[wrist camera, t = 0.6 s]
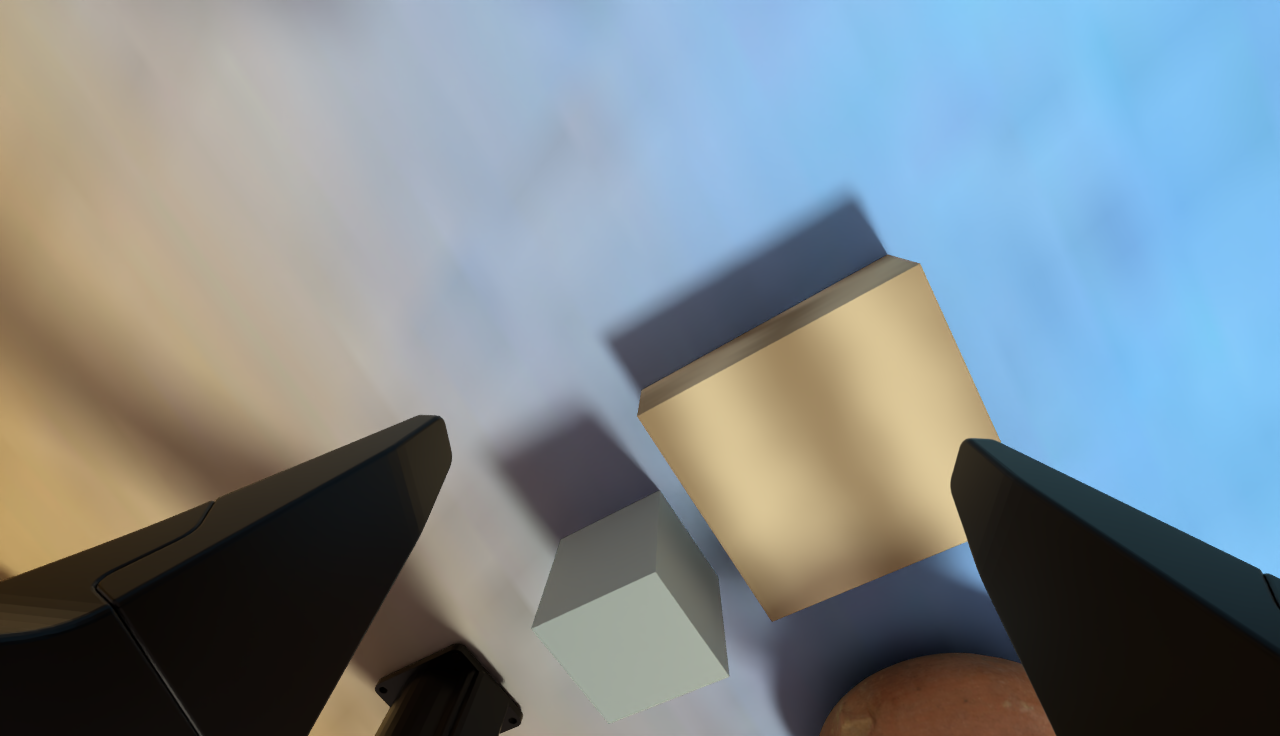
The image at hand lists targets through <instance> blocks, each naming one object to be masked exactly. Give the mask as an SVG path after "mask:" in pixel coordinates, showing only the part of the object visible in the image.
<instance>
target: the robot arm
mask: <svg viewBox="0 0 1280 736" xmlns="http://www.w3.org/2000/svg"><path fill="white" fill-rule="evenodd" d="M451 462H452V451H451V447H450V443H449V438H448V434H447V429H446V425H445V422H444V420H443V418H441V417H440V416H436V415H418V416H415V417H413V418H410V419H408V420H406V421H403V422H401V423H398V424H396V425H394V426H391V427H389V428H386V429H384V430H381V431H379V432H377V433H374V434H372V435H369V436H367V437H365V438H362V439H360V440H357V441H355V442H352V443H350V444H348V445H345V446H343V447H340V448H338V449H335V450H333V451H331V452H328V453H326V454H323V455H321V456H319V457H316V458H314V459H311V460H309V461H306V462H304V463H302V464H299V465H297V466H294V467H292V468H290V469H287V470H285V471H282V472H280V473H277V474H275V475H273V476H270V477H268V478H265V479H263V480H261V481H258V482H256V483H253V484H251V485H248V486H246V487H244V488H241V489H239V490H236V491H234V492H231V493H229V494H227V495H224V496H222V497H219V498H217V499H216V501H215V502H214V501H209V502H207V503H205V504H202V505H200V506H197V507H195V508H193V509H190V510H188V511H185V512H183V513H180V514H178V515H175V516H173V517H170V518H168V519H165V520H163V521H160V522H158V523H155V524H153V525H150V526H148V527H145V528H143V529H140V530H138V531H135V532H132V533H130V534H127V535H124V536H122V537H119V538H117V539H114V540H111V541H109V542H106V543H103V544H101V545H98V546H95V547H93V548H90V549H87V550H85V551H82V552H79V553H77V554H74V555H71V556H68V557H66V558H63V559H60V560H58V561H55V562H52V563H49V564H47V565H44V566H41V567H39V568H36V569H33V570H31V571H28V572H25V573H22V574H20V575H17V576H14V577H12V578H9V579H6V580H3V581H1V582H0V736H308V735H309V733H310V731H311V729H312V727H313V726H314V724H315V722H316V720H317V719H318V717H319V715H320V713H321V711H322V710H323V708H324V706H325V704H326V703H327V701H328V699H329V697H330V695H331V694H332V692H333V690H334V688H335V687H336V685H337V683H338V681H339V680H340V678H341V676H342V674H343V672H344V671H345V669H346V667H347V665H348V664H349V662H350V660H351V658H352V656H353V655H354V653H355V651H356V649H357V648H358V646H359V644H360V642H361V640H362V639H363V637H364V635H365V633H366V632H367V630H368V628H369V626H370V624H371V623H372V621H373V619H374V617H375V616H376V614H377V612H378V610H379V608H380V607H381V605H382V603H383V601H384V600H385V598H386V596H387V594H388V592H389V591H390V589H391V587H392V585H393V584H394V582H395V580H396V578H397V576H398V575H399V573H400V571H401V569H402V568H403V566H404V564H405V562H406V560H407V559H408V557H409V555H410V553H411V552H412V550H413V548H414V546H415V544H416V542H417V541H418V539H419V537H420V535H421V533H422V531H423V528H424V526H425V524H426V522H427V520H428V517H429V515H430V513H431V510H432V508H433V506H434V503H435V501H436V499H437V496H438V494H439V492H440V489H441V487H442V485H443V482H444V480H445V478H446V475H447V473H448V471H449V468H450V466H451ZM950 489H951V494H952V497H953V500H954V503H955V506H956V509H957V512H958V515H959V517H960V520H961V523H962V526H963V529H964V532H965V535H966V538H967V541H968V544H969V547H970V549H971V552H972V555H973V558H974V561H975V564H976V567H977V569H978V572H979V574H980V577H981V579H982V581H983V584H984V586H985V588H986V590H987V592H988V594H989V597H990V599H991V601H992V603H993V605H994V607H995V609H996V611H997V613H998V615H999V617H1000V620H1001V622H1002V624H1003V626H1004V628H1005V630H1006V632H1007V634H1008V636H1009V638H1010V640H1011V643H1012V645H1013V647H1014V649H1015V651H1016V653H1017V655H1018V657H1019V659H1020V661H1021V663H1022V666H1023V668H1024V670H1025V672H1026V674H1027V676H1028V678H1029V680H1030V682H1031V684H1032V686H1033V689H1034V691H1035V693H1036V695H1037V697H1038V699H1039V701H1040V703H1041V705H1042V707H1043V709H1044V712H1045V714H1046V716H1047V718H1048V720H1049V722H1050V724H1051V726H1052V728H1053V730H1054V732H1055V735H1056V736H1280V579H1279V578H1277V577H1275V576H1273V575H1271V574H1268V573H1266V574H1263V573H1262V571H1261V570H1260V569H1258V568H1256V567H1254V566H1252V565H1250V564H1248V563H1246V562H1244V561H1242V560H1240V559H1238V558H1236V557H1234V556H1232V555H1230V554H1228V553H1226V552H1224V551H1222V550H1220V549H1217V548H1215V547H1213V546H1211V545H1209V544H1207V543H1205V542H1203V541H1201V540H1199V539H1197V538H1195V537H1193V536H1191V535H1189V534H1187V533H1185V532H1183V531H1181V530H1178V529H1176V528H1174V527H1172V526H1170V525H1168V524H1166V523H1164V522H1162V521H1160V520H1158V519H1156V518H1154V517H1152V516H1150V515H1148V514H1146V513H1144V512H1142V511H1139V510H1137V509H1135V508H1133V507H1131V506H1129V505H1127V504H1125V503H1123V502H1121V501H1119V500H1117V499H1115V498H1113V497H1111V496H1109V495H1107V494H1105V493H1103V492H1100V491H1098V490H1096V489H1094V488H1092V487H1090V486H1088V485H1086V484H1084V483H1082V482H1080V481H1078V480H1076V479H1074V478H1072V477H1070V476H1068V475H1066V474H1064V473H1061V472H1059V471H1057V470H1055V469H1053V468H1051V467H1049V466H1047V465H1045V464H1043V463H1041V462H1039V461H1037V460H1035V459H1033V458H1031V457H1029V456H1027V455H1025V454H1022V453H1020V452H1018V451H1016V450H1014V449H1012V448H1010V447H1008V446H1006V445H1004V444H1002V443H1000V442H998V441H996V440H993V439H981V438H967V439H965V440H964V441H963V442H962V443H961V445H960V447H959V451H958V454H957V458H956V462H955V465H954V469H953V472H952V476H951V481H950ZM457 653H458V654H457ZM375 691H376V693H377V694H378V695H379V696H380V697H381V698H382V699H383V700H384V701H385V702H386V703H387V704H388V705H389V706H390V709H389V711H388V713H387V714H386V716H385V718H384V720H383V722H382V723H381V725H380V727H379V729H378V731H377V733H376V734H375V736H499V734H500V733H503V732H505V731H508V730H510V729H512V728H515V727H517V726H519V725H520V724H521V721H522V718H523V713H522V712H521V710H520V709H519V708H518V707H517V706H516V705H515V704H514V702H513V701H512V700H511V699H510V698H509V697H508V695H507V694H506V693H505V692H504V691H503V690H502V689H501V687H500V686H499V685H498V684H497V683H496V682H495V681H494V679H493V678H492V677H491V676H490V675H489V674H488V673H487V671H486V670H485V669H484V668H483V667H482V666H481V664H480V663H479V662H478V661H477V660H476V659H475V658H474V656H473V655H472V654H471V653H470V652H469V651H468V650H467V648H466V647H465V646H463V645H461V644H454V645H452V646H449V647H447V648H445V649H443V650H441V651H439V652H437V653H435V654H432V655H430V656H428V657H426V658H424V659H422V660H420V661H418V662H415V663H413V664H411V665H409V666H407V667H405V668H403V669H401V670H398V671H396V672H394V673H392V674H390V675H388V676H386V677H384V678H381V679H380V680H379V682H378V683H377V685H376V687H375Z"/></svg>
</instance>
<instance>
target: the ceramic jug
mask: <svg viewBox="0 0 1280 736" xmlns="http://www.w3.org/2000/svg"><path fill="white" fill-rule="evenodd" d="M819 736H1056V735H1055V732H1054V730H1053V728H1052V726H1051V724H1050V722H1049V720H1048V718H1047V716H1046V714H1045V712H1044V709H1043V707H1042V705H1041V703H1040V701H1039V699H1038V697H1037V695H1036V693H1035V691H1034V689H1033V686H1032V684H1031V682H1030V680H1029V678H1028V676H1027V674H1026V672H1025V670H1024V668H1023V666H1022V664H1021V663H1018V662H1014V661H1011V660H1007V659H1003V658H998V657H992V656H986V655H979V654H972V653H941V654H933V655H926V656H921V657H916V658H912V659H909V660H906V661H902V662H900V663H897V664H894V665H892V666H889V667H887V668H884V669H882V670H880V671H878V672H876V673H874V674H873V675H871V676H869V677H867V678H866V679H864V680H863V681H861V682H860V683H859V684H857V685H856V686H855V687H854V688H852V689H851V690H850V691H849V692H848V693H847V694H846V695H845V696H843V697H842V698H841V699H840V701H839V702H838V703H837V704H836V705H835V706H834V708H833V709H832V711H831V712H830V714H829V715H828V717H827V719H826V720H825V723H824V725H823V727H822V729H821V732H820V735H819Z"/></svg>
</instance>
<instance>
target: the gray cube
mask: <svg viewBox="0 0 1280 736" xmlns="http://www.w3.org/2000/svg"><path fill="white" fill-rule="evenodd" d="M531 629H532V631H533V632H534V633H535V634H536V635H537V637H538V638H539V639H540V640H541V642H542V643H543V644H544V645H545V646H546V648H547V649H548V650H549V651H550V653H551V654H552V655H553V656H554V658H555V659H556V660H557V661H558V662H559V664H560V665H561V666H562V667H563V669H564V670H565V671H566V672H567V674H568V675H569V676H570V677H571V678H572V680H573V681H574V682H575V683H576V685H577V686H578V687H579V688H580V689H581V691H582V692H583V693H584V694H585V696H586V697H587V698H588V699H589V701H590V702H591V703H592V704H593V705H594V707H595V708H596V709H597V710H598V712H599V713H600V714H601V715H602V717H603V718H604V719H605V720H606V721H607V723H608V724H610V723H613V722H616V721H618V720H621V719H623V718H626V717H628V716H631V715H633V714H636V713H638V712H641V711H643V710H646V709H649V708H651V707H654V706H656V705H659V704H661V703H664V702H666V701H669V700H671V699H674V698H676V697H679V696H681V695H684V694H687V693H689V692H692V691H694V690H697V689H699V688H702V687H704V686H707V685H709V684H712V683H714V682H717V681H720V680H722V679H725V678H727V677H729V668H728V659H727V650H726V641H725V632H724V624H723V615H722V606H721V597H720V588H719V579H718V576H717V575H716V573H715V572H714V570H713V569H712V567H711V566H710V564H709V563H708V561H707V560H706V558H705V557H704V556H703V554H702V553H701V551H700V550H699V548H698V547H697V545H696V544H695V542H694V541H693V539H692V538H691V536H690V535H689V533H688V532H687V530H686V529H685V527H684V526H683V524H682V523H681V521H680V520H679V518H678V517H677V515H676V514H675V512H674V511H673V509H672V508H671V506H670V505H669V503H668V502H667V500H666V499H665V497H664V496H663V494H662V493H661V491H660V490H659V491H657V492H655V493H653V494H651V495H649V496H647V497H645V498H643V499H641V500H639V501H637V502H635V503H633V504H631V505H629V506H627V507H625V508H623V509H621V510H619V511H617V512H615V513H613V514H611V515H609V516H607V517H605V518H603V519H601V520H599V521H597V522H595V523H593V524H591V525H589V526H587V527H585V528H583V529H581V530H579V531H577V532H575V533H573V534H571V535H569V536H567V537H565V538H563V539H561V540H560V543H559V546H558V549H557V552H556V555H555V559H554V562H553V565H552V568H551V571H550V574H549V577H548V580H547V583H546V586H545V589H544V592H543V595H542V598H541V601H540V604H539V607H538V610H537V613H536V616H535V619H534V622H533V625H532V628H531Z"/></svg>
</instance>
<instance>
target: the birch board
mask: <svg viewBox="0 0 1280 736" xmlns="http://www.w3.org/2000/svg"><path fill="white" fill-rule="evenodd" d="M637 417H638V418H639V420H640V421H641V423H642V424H643V426H644V427H645V429H646V431H647V432H648V434H649V435H650V437H651V438H652V440H653V441H654V443H655V444H656V446H657V447H658V449H659V450H660V452H661V453H662V455H663V456H664V458H665V459H666V461H667V463H668V464H669V466H670V467H671V469H672V470H673V472H674V473H675V475H676V476H677V478H678V479H679V481H680V482H681V484H682V485H683V487H684V488H685V490H686V492H687V493H688V495H689V496H690V498H691V499H692V501H693V502H694V504H695V505H696V507H697V508H698V510H699V511H700V513H701V514H702V516H703V517H704V519H705V520H706V522H707V524H708V525H709V527H710V528H711V530H712V531H713V533H714V534H715V536H716V537H717V539H718V540H719V542H720V543H721V545H722V546H723V548H724V549H725V551H726V553H727V554H728V556H729V557H730V559H731V560H732V562H733V563H734V565H735V566H736V568H737V569H738V571H739V572H740V574H741V575H742V577H743V578H744V580H745V581H746V583H747V585H748V586H749V588H750V589H751V591H752V592H753V594H754V595H755V597H756V598H757V600H758V601H759V603H760V604H761V606H762V607H763V609H764V610H765V612H766V614H767V615H768V617H769V618H770V620H771V621H772V622H773V621H775V620H778V619H780V618H783V617H785V616H787V615H790V614H792V613H795V612H797V611H800V610H802V609H804V608H807V607H809V606H812V605H814V604H817V603H819V602H821V601H824V600H826V599H829V598H831V597H834V596H836V595H838V594H841V593H843V592H846V591H848V590H850V589H853V588H855V587H858V586H860V585H863V584H865V583H867V582H870V581H872V580H875V579H877V578H880V577H882V576H884V575H887V574H889V573H892V572H894V571H896V570H899V569H901V568H904V567H906V566H909V565H911V564H913V563H916V562H918V561H921V560H923V559H926V558H928V557H930V556H933V555H935V554H938V553H940V552H943V551H945V550H947V549H950V548H952V547H955V546H957V545H959V544H962V543H964V542H967V538H966V535H965V532H964V529H963V526H962V523H961V520H960V517H959V515H958V512H957V509H956V506H955V503H954V500H953V497H952V494H951V489H950V481H951V476H952V472H953V469H954V465H955V462H956V458H957V454H958V451H959V447H960V445H961V443H962V442H963V441H964V440H965V439H967V438H981V439H993V440H996V441H998V442H1000V443H1001V441H1000V439H999V437H998V435H997V432H996V430H995V428H994V426H993V424H992V421H991V419H990V417H989V415H988V413H987V410H986V408H985V406H984V404H983V401H982V399H981V397H980V395H979V393H978V390H977V388H976V386H975V384H974V382H973V379H972V377H971V375H970V373H969V371H968V368H967V366H966V364H965V362H964V360H963V357H962V355H961V353H960V351H959V349H958V346H957V344H956V342H955V340H954V337H953V335H952V333H951V331H950V329H949V326H948V324H947V322H946V320H945V318H944V315H943V313H942V311H941V309H940V307H939V304H938V302H937V300H936V298H935V296H934V293H933V291H932V289H931V287H930V285H929V282H928V280H927V278H926V276H925V273H924V271H923V269H922V267H921V265H920V263H916V262H913V261H909V260H905V259H902V258H898V257H895V256H891V255H886V256H884V257H882V258H880V259H879V260H877V261H875V262H873V263H871V264H870V265H868V266H866V267H864V268H862V269H861V270H859V271H857V272H855V273H853V274H851V275H850V276H848V277H846V278H844V279H842V280H841V281H839V282H837V283H835V284H833V285H832V286H830V287H828V288H826V289H824V290H822V291H821V292H819V293H817V294H815V295H813V296H812V297H810V298H808V299H806V300H804V301H802V302H801V303H799V304H797V305H795V306H793V307H792V308H790V309H788V310H786V311H784V312H783V313H781V314H779V315H777V316H775V317H773V318H772V319H770V320H768V321H766V322H764V323H763V324H761V325H759V326H757V327H755V328H753V329H752V330H750V331H748V332H746V333H744V334H743V335H741V336H739V337H737V338H735V339H734V340H732V341H730V342H728V343H726V344H724V345H723V346H721V347H719V348H717V349H715V350H714V351H712V352H710V353H708V354H706V355H705V356H703V357H701V358H699V359H697V360H695V361H694V362H692V363H690V364H688V365H686V366H685V367H683V368H681V369H679V370H677V371H675V372H674V373H672V374H670V375H668V376H666V377H665V378H663V379H661V380H659V381H657V382H656V383H654V384H652V385H650V386H648V387H646V388H645V389H643V390H641V396H640V402H639V408H638V414H637Z"/></svg>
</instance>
